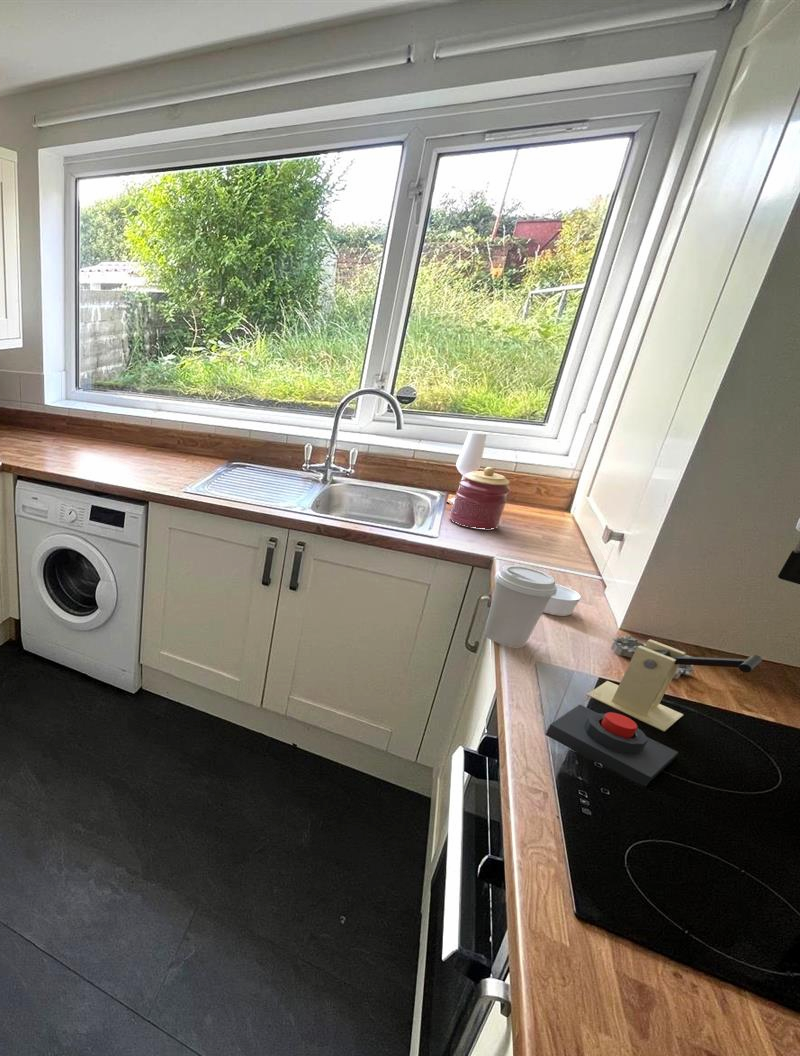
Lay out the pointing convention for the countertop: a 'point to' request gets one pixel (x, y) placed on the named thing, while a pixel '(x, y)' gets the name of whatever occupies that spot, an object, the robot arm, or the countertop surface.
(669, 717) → the beige lever stand
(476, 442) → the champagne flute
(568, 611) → the ramekin
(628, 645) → the egg carton
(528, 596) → the coffee cup
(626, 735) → the button
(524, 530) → the countertop surface
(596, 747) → the button block
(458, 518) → the kitchen canister
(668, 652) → the lever
